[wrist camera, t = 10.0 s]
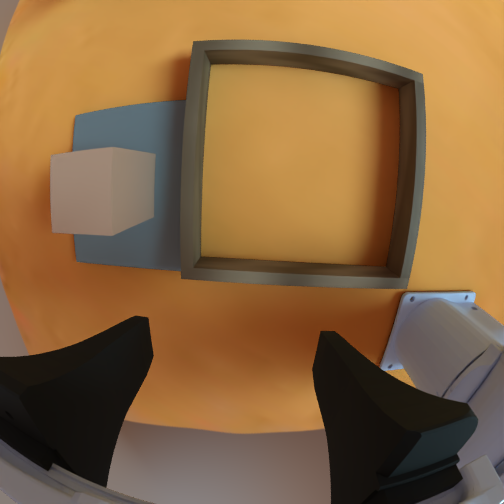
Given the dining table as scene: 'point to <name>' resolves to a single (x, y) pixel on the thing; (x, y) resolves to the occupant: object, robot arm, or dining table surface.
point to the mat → (165, 189)
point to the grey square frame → (300, 272)
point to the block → (101, 190)
